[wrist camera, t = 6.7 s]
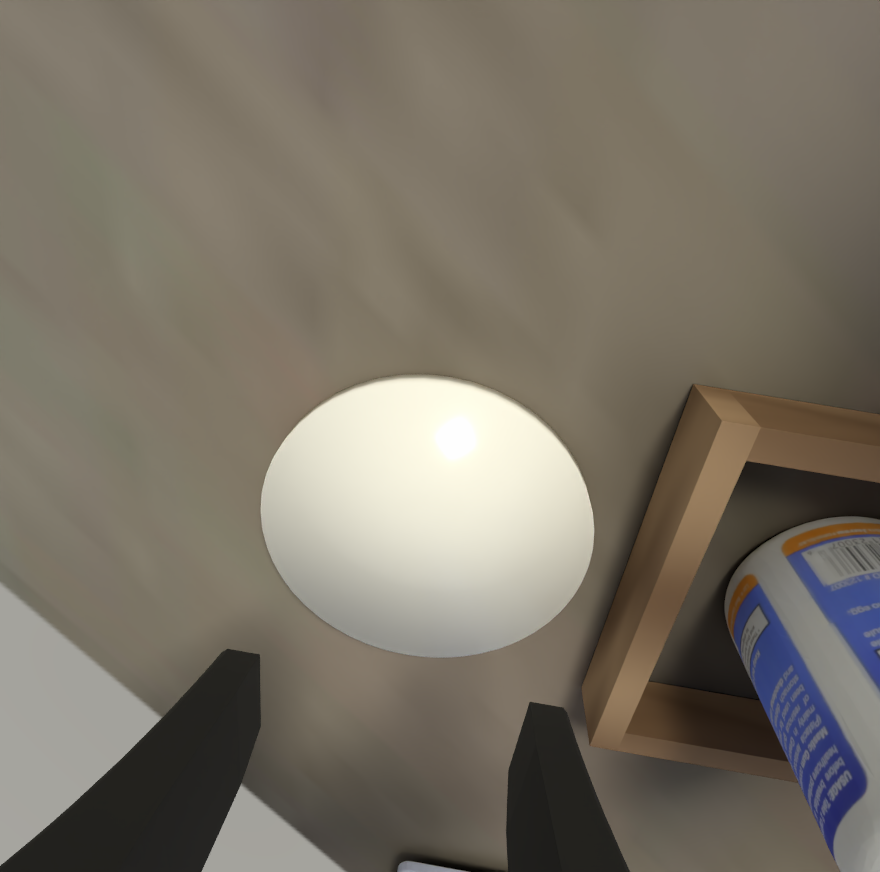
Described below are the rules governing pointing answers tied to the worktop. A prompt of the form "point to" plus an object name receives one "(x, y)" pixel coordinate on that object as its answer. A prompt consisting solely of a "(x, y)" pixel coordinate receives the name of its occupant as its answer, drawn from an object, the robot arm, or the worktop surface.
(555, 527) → the white disc
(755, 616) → the pill bottle
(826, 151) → the worktop surface
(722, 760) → the socket block
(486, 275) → the worktop surface
